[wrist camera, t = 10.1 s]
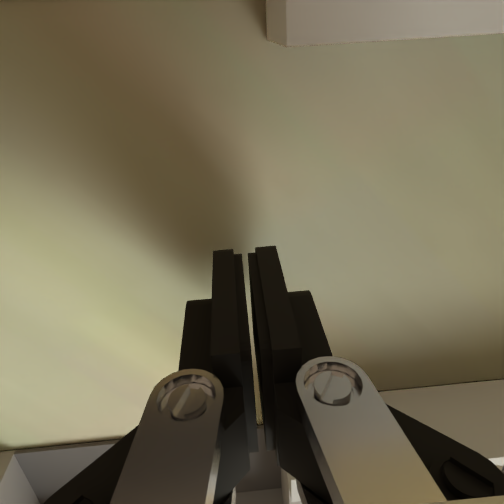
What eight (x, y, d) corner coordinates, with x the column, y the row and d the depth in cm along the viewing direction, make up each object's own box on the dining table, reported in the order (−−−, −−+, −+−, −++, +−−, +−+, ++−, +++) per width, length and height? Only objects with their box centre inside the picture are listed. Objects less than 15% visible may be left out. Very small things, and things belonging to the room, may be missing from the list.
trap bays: (330, -433, 6) (390, -674, 4) (307, 497, 18) (320, 560, 16) (-539, -420, 6) (-994, -686, 4) (27, 528, 18) (1, 597, 16)
